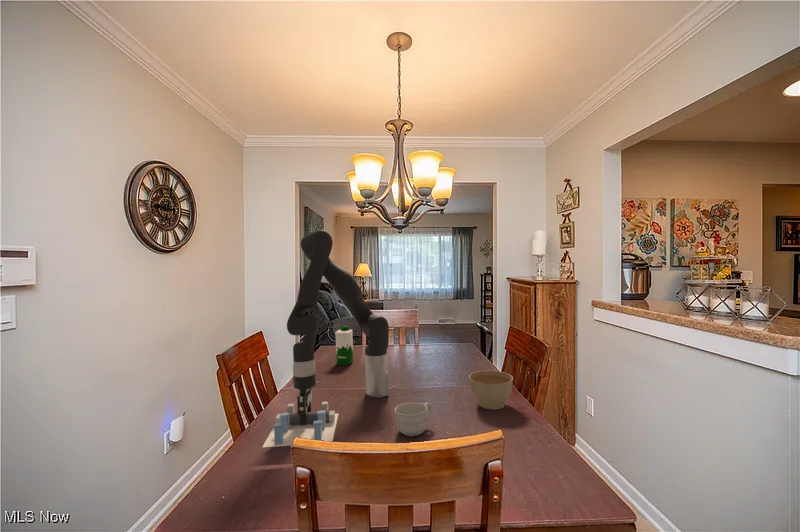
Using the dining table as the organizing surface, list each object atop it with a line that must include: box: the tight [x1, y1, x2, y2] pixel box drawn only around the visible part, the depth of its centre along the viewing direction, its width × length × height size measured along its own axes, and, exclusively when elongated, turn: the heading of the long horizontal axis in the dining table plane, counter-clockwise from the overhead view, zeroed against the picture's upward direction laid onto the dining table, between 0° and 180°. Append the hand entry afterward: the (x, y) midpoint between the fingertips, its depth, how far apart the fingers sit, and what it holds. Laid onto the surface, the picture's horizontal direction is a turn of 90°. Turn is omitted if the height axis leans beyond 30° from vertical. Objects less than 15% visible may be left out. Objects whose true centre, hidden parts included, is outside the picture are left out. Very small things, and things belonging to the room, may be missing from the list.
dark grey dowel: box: [275, 410, 336, 424], centre depth 123 cm, size 20×4×4 cm, turn 95°
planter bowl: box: [468, 369, 514, 411], centre depth 136 cm, size 16×16×11 cm
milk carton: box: [334, 325, 354, 366], centre depth 197 cm, size 9×9×20 cm
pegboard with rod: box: [261, 400, 339, 449], centre depth 119 cm, size 21×21×6 cm
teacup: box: [394, 401, 432, 437], centre depth 117 cm, size 14×11×8 cm
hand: (305, 419), depth 124 cm, fingers open, 8 cm apart
